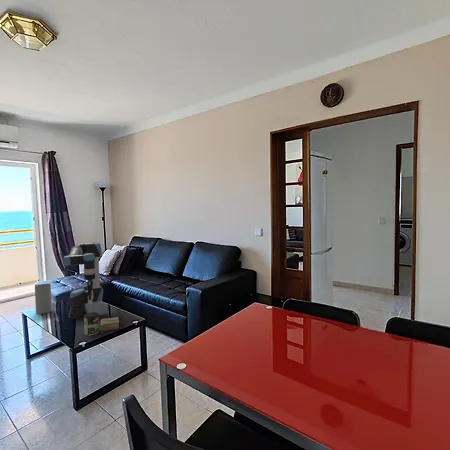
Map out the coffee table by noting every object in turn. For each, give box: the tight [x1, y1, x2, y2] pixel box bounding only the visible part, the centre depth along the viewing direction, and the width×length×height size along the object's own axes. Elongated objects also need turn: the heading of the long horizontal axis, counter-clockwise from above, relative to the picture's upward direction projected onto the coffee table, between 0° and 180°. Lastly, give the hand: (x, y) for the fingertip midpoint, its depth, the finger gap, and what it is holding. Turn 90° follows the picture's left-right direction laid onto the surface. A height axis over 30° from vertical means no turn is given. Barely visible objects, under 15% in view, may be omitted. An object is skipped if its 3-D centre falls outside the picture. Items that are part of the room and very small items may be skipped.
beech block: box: [100, 316, 120, 332], centre depth 232 cm, size 13×13×5 cm
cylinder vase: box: [34, 283, 53, 315], centre depth 268 cm, size 12×12×25 cm
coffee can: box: [83, 311, 100, 336], centre depth 221 cm, size 10×10×14 cm
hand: (90, 301), depth 220 cm, fingers open, 13 cm apart
